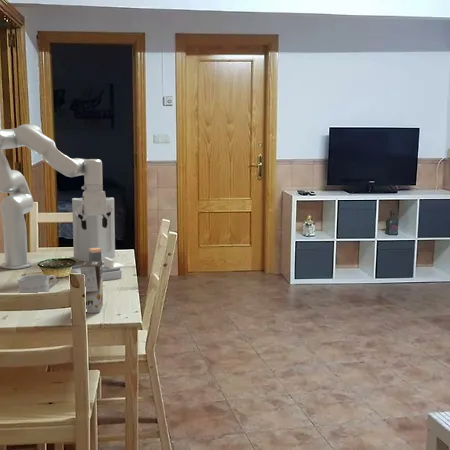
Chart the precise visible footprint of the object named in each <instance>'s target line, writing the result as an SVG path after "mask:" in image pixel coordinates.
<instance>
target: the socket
mask: <svg viewBox="0 0 450 450" xmlns="http://www.w3.org/2000/svg"><path fill="white" fill-rule="evenodd" d="M81 265H82V264H77V265H71V266H72V269H71V273H81V268H80V266H81ZM117 279H122V270H121V268H113V269H110V268H107V267H105V266H104V261H102V281H112V280H117Z"/></svg>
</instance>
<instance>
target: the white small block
mask: <svg viewBox="0 0 450 450" xmlns="http://www.w3.org/2000/svg"><path fill="white" fill-rule="evenodd" d="M103 262H104V266H105V267H107V268H110V269H113V268H120V269H122V268H126V266H125V265H124V264H122V263H119V262H114V259H113V258H111V259H110V258H108V257H104V261H103Z"/></svg>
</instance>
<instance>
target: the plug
mask: <svg viewBox="0 0 450 450" xmlns="http://www.w3.org/2000/svg"><path fill="white" fill-rule="evenodd" d="M101 252H102V249H100V248H89V261H101Z"/></svg>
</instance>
